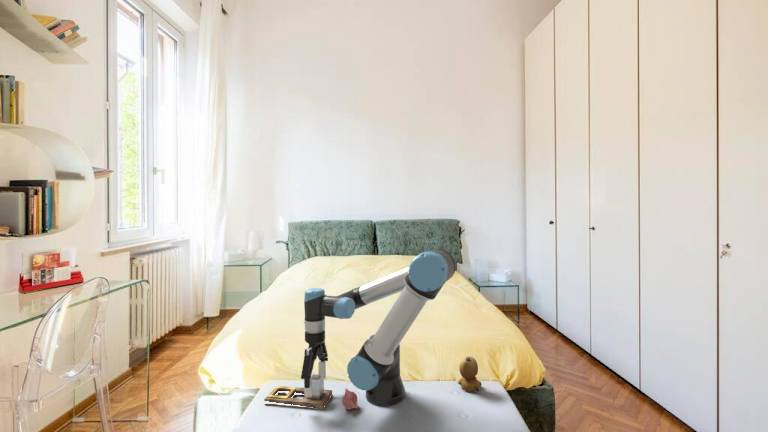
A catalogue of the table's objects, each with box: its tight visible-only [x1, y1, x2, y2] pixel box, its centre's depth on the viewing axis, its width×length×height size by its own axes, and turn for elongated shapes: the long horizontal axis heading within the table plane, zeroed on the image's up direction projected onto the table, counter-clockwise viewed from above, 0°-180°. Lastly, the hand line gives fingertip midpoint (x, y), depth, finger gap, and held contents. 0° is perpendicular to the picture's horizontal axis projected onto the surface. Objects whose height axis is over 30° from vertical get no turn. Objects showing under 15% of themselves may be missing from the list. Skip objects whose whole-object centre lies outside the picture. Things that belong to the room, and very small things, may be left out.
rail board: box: [263, 385, 333, 410], centre depth 133 cm, size 23×10×2 cm, turn 79°
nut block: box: [308, 373, 325, 400], centre depth 132 cm, size 4×4×9 cm
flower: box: [341, 388, 359, 410], centre depth 127 cm, size 8×8×6 cm
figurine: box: [457, 356, 482, 393], centre depth 138 cm, size 10×8×15 cm
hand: (315, 386), depth 132 cm, fingers open, 13 cm apart
